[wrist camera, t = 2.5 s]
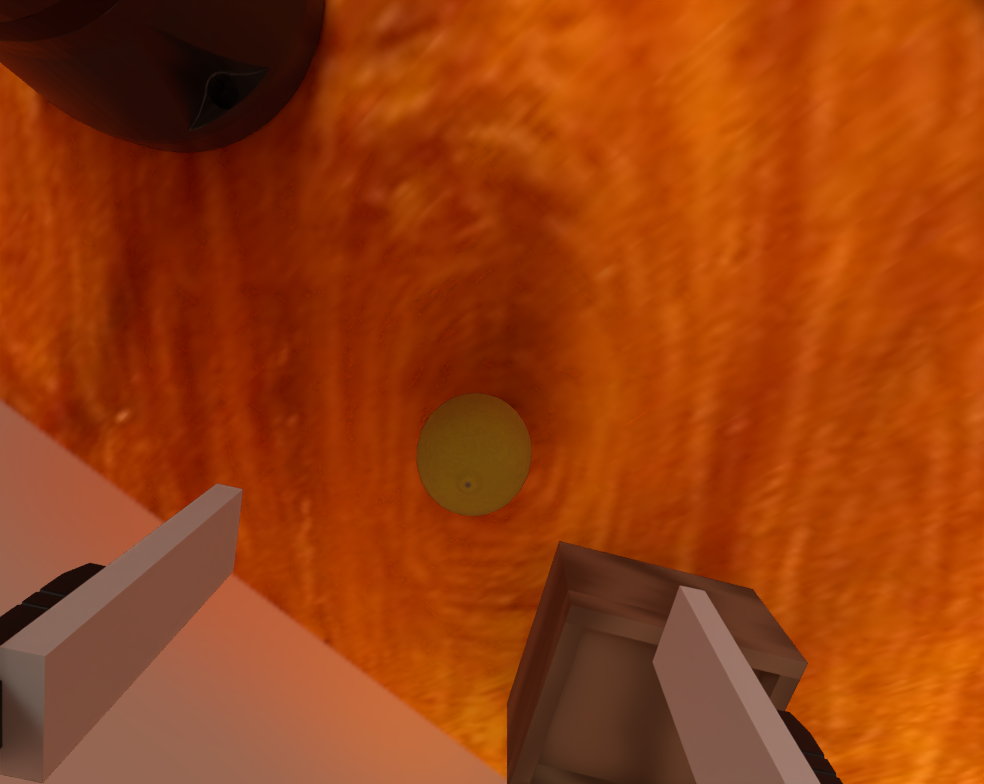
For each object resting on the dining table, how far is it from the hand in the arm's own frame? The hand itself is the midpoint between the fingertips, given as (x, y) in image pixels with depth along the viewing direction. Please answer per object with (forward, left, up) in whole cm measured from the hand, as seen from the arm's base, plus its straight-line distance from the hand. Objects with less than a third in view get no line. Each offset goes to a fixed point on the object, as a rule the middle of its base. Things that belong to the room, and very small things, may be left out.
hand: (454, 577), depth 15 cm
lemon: (0, 0, -14) cm, 14 cm away
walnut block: (+12, -12, -15) cm, 22 cm away
